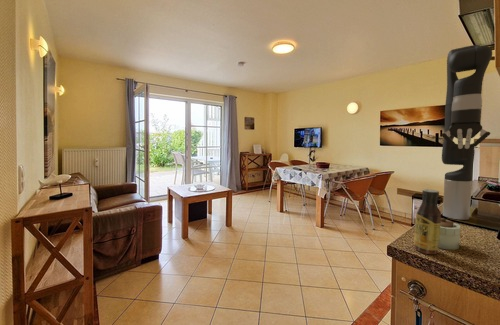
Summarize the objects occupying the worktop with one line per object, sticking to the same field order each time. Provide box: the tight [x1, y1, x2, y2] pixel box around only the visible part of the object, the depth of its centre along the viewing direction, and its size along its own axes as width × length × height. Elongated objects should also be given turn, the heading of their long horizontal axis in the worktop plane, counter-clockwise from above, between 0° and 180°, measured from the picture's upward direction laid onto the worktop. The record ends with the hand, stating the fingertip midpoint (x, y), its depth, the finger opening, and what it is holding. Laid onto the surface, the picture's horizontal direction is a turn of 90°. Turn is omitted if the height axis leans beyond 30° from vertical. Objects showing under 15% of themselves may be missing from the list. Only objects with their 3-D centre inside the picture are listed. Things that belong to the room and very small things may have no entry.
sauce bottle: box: [413, 188, 442, 255], centre depth 73 cm, size 6×6×20 cm
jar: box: [438, 222, 461, 251], centre depth 78 cm, size 9×9×7 cm
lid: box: [440, 217, 454, 228], centre depth 78 cm, size 6×6×4 cm
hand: (463, 159), depth 81 cm, fingers closed
